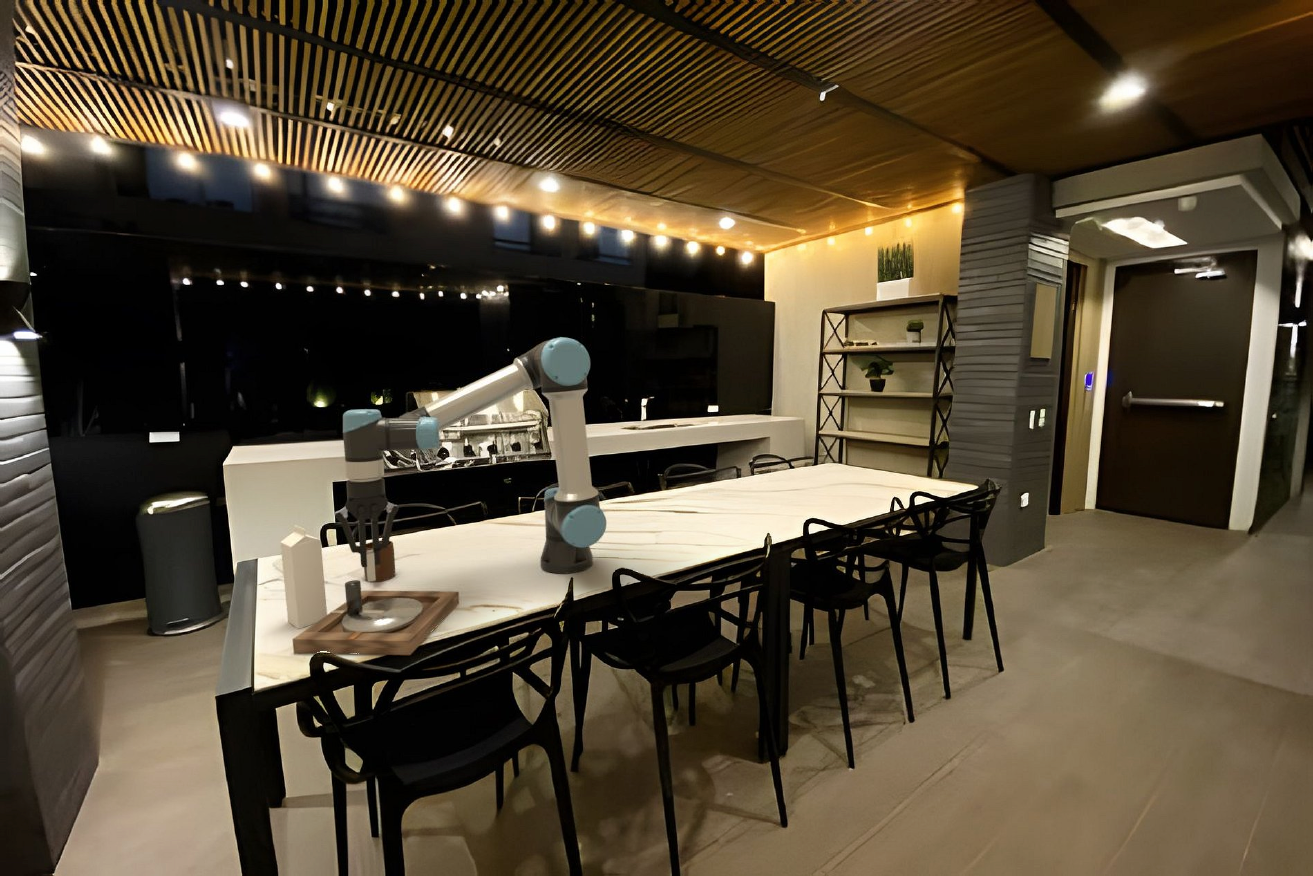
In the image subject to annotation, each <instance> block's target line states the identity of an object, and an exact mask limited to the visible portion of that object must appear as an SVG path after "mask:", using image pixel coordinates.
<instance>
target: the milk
mask: <svg viewBox="0 0 1313 876" xmlns="http://www.w3.org/2000/svg"><path fill="white" fill-rule="evenodd" d="M293 527H294V529H293V530H294V531H293V532H292V533H290V535H287V536H286V537H285V538H284V539H283V540H281V541H280V550H281V561H282V563H281V564H282V570H283V584H284V592H285V594H284V595H285V603H286V612H287V615H286V616H287V622H288V623H290V624H291V625H292V626H294V627H295V628H296V629H298V630H300V629H303V628H306V627H310V626H312V625H314V624H315V623H317V622H318V621H319V620H321V619H322V618H324V617H325V616H327V615H328V609H327V596H326V586H325V584H326V583H325V575H324V563H323V561H324V560H323V553H322V552H323V551H322V541H321V539H319V538H317V537H315V536H312V535H310V534H308V533H307V534H306V530H305V528H303V527H300V526H299V525H293Z"/></svg>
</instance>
